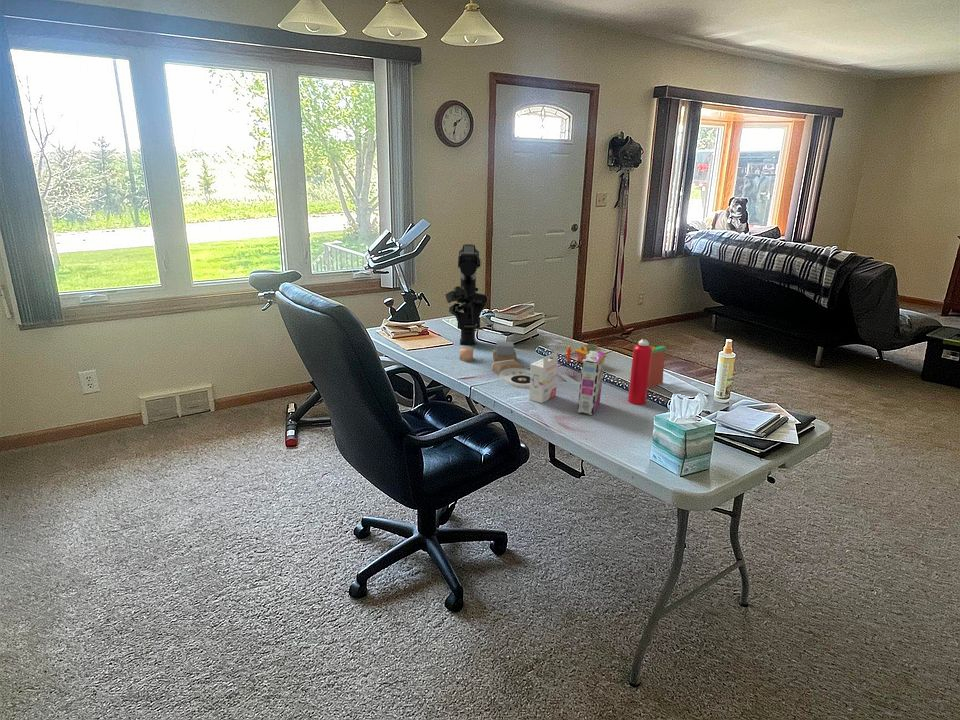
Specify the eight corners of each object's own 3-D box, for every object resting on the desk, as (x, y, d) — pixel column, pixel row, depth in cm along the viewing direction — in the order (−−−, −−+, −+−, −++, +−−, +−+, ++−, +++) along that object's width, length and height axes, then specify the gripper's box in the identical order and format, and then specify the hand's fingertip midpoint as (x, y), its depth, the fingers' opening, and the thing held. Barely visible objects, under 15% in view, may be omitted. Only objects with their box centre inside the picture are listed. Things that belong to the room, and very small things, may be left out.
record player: (517, 358, 206) (547, 377, 189) (517, 366, 207) (547, 386, 191) (488, 362, 201) (516, 382, 185) (488, 371, 202) (516, 391, 186)
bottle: (643, 398, 181) (650, 336, 174) (648, 404, 175) (655, 342, 169) (626, 397, 181) (632, 336, 174) (630, 404, 175) (637, 341, 169)
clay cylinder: (459, 357, 216) (459, 346, 214) (472, 357, 216) (473, 347, 215) (459, 361, 211) (459, 351, 210) (473, 361, 211) (473, 351, 210)
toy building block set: (639, 391, 186) (644, 350, 182) (561, 362, 212) (564, 325, 208) (662, 383, 194) (667, 343, 189) (584, 356, 220) (587, 320, 215)
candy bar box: (594, 416, 167) (598, 363, 161) (577, 413, 168) (581, 360, 163) (601, 402, 177) (605, 351, 171) (584, 399, 178) (589, 349, 173)
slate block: (496, 350, 214) (496, 341, 213) (512, 350, 214) (512, 341, 213) (497, 355, 208) (497, 346, 207) (513, 355, 208) (513, 346, 207)
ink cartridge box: (542, 391, 184) (545, 347, 179) (556, 395, 181) (559, 351, 177) (528, 399, 178) (530, 354, 173) (542, 403, 175) (544, 358, 170)
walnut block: (492, 358, 216) (493, 349, 215) (514, 358, 216) (514, 349, 215) (494, 365, 208) (494, 356, 207) (516, 365, 209) (516, 356, 208)
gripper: (437, 289, 214) (435, 329, 211) (461, 273, 199) (460, 317, 195) (463, 294, 220) (462, 333, 217) (488, 279, 204) (488, 322, 201)
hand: (467, 326), depth 207 cm, fingers open, 9 cm apart
